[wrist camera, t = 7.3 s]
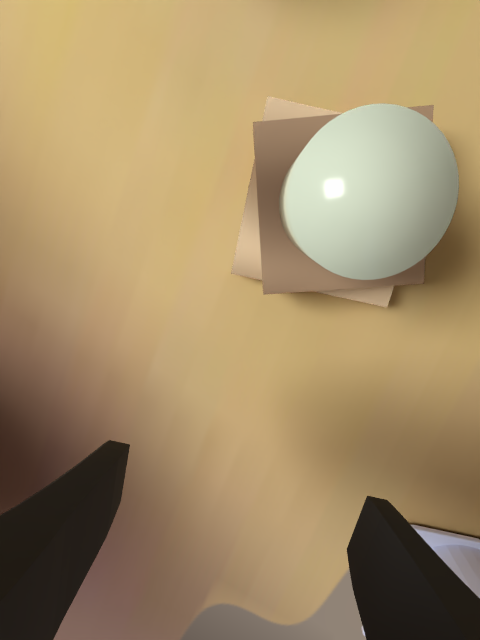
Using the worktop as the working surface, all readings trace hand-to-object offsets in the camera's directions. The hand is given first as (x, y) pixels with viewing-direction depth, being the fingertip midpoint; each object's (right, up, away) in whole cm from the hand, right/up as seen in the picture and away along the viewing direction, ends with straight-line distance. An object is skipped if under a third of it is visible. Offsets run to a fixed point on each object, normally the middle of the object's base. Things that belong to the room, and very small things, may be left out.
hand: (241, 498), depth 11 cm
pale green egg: (+4, +10, +4) cm, 12 cm away
